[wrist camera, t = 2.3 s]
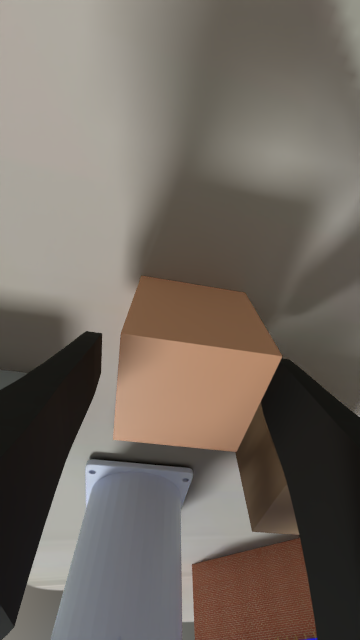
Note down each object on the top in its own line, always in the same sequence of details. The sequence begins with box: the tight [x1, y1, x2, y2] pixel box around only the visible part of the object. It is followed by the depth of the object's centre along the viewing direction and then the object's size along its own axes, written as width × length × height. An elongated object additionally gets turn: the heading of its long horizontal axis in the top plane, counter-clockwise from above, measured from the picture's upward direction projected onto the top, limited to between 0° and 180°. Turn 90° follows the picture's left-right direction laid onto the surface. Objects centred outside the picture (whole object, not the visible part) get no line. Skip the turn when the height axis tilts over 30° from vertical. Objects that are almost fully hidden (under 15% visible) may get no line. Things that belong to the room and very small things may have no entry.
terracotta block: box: [113, 276, 282, 452], centre depth 11 cm, size 5×5×5 cm
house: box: [192, 538, 317, 640], centre depth 24 cm, size 12×20×12 cm, turn 122°
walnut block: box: [235, 402, 299, 535], centre depth 15 cm, size 5×5×5 cm
